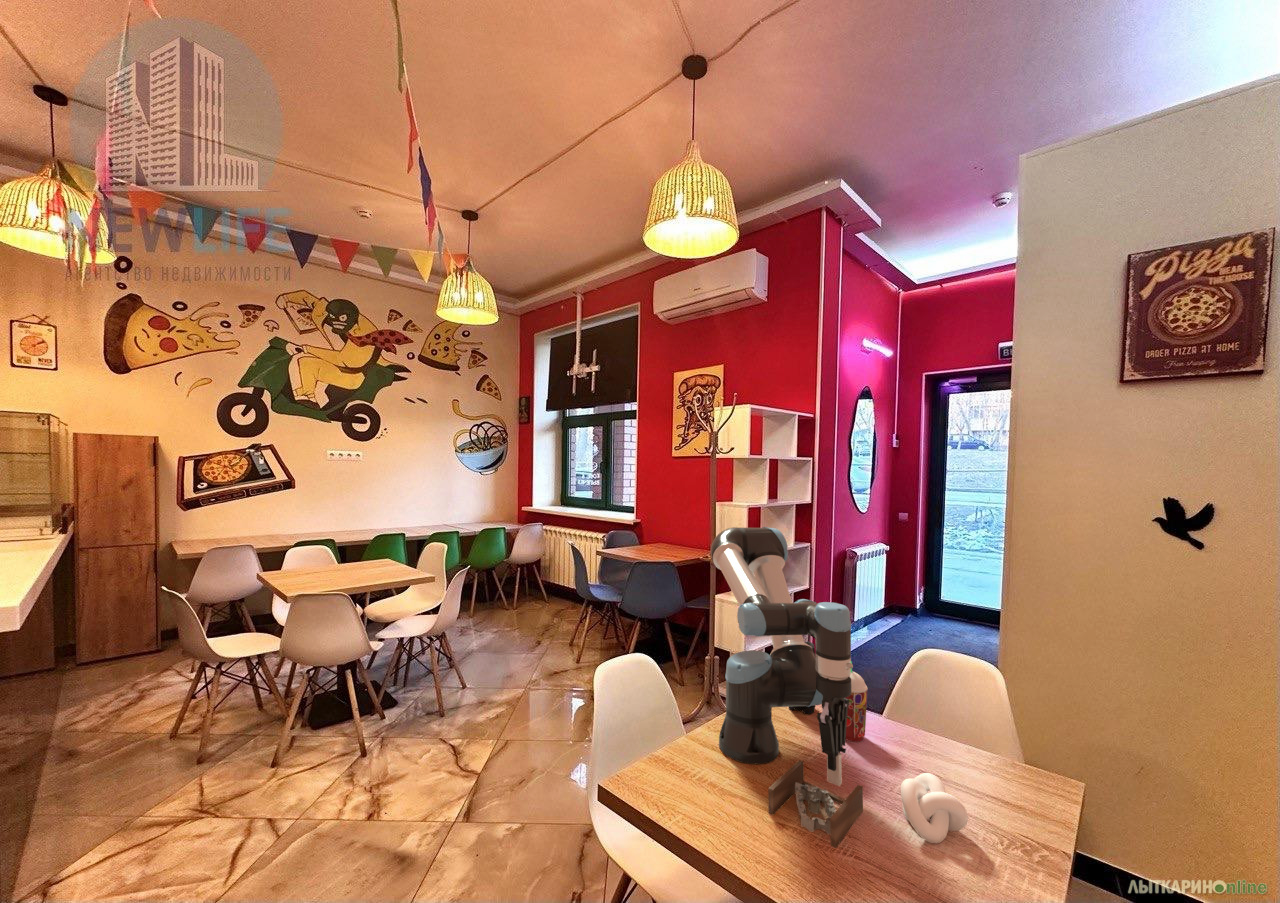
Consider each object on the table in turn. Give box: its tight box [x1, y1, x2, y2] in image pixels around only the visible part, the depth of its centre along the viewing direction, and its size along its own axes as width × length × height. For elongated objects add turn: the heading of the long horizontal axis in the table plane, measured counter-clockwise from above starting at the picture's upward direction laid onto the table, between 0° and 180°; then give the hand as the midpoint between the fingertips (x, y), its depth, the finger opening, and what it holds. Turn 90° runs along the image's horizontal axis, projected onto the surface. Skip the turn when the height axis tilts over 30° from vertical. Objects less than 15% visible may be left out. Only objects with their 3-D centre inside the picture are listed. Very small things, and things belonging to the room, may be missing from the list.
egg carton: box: [795, 782, 837, 835], centre depth 101 cm, size 11×8×4 cm
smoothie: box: [846, 660, 868, 743], centre depth 133 cm, size 8×8×20 cm
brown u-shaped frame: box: [768, 759, 864, 849], centre depth 102 cm, size 14×14×5 cm
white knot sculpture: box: [900, 772, 969, 844], centre depth 98 cm, size 11×12×9 cm
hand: (834, 782), depth 109 cm, fingers closed
